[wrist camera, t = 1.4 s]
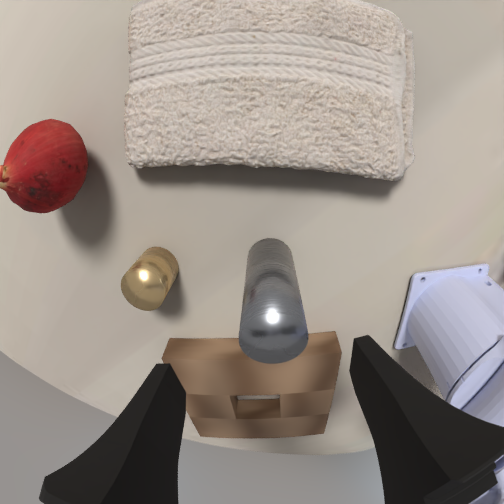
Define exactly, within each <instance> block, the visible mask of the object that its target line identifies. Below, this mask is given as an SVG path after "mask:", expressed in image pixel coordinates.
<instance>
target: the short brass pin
mask: <svg viewBox="0 0 504 504" xmlns="http://www.w3.org/2000/svg"><path fill="white" fill-rule="evenodd" d="M178 271H179V267H178V262H177V260H176V258H175V257H174V255H173V254H172V253H171V252H169V251H168V250H166V249H164V248H161V247H152V248H149V249H147V250H146V251H145V252H144V253H143V254H142V255H141V256H140V257H139V259H138V260H137V261H136V262H135V263H134V264H133V265H132V267H131V268H130V269H129V270H128V271H127V272H126V274H125V275H124V276H123V278H122V280H121V290H122V293H123V295H124V297H125V298H126V299H127V301H128V302H129V303H130V304H132V305H133V306H134V307H136V308H138V309H141V310H145V311H151V310H155V309H157V308H159V307H160V306H161V304H162V302H163V301H164V299H165V297H166V295H167V293H168V291H169V289H170V288H171V286H172V284H173V282H174V280H175V278H176V277H177V275H178Z"/></svg>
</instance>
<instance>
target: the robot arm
mask: <svg viewBox="0 0 504 504" xmlns="http://www.w3.org/2000/svg"><path fill="white" fill-rule="evenodd" d="M488 271H489V265H488V264H486V263H485V264H478V265H472V266H465V267H458V268H451V269H443V270H436V271H428V272H420V273H415V274H414V275H413V276H412V278H411V282H410V287H409V291H408V296H407V300H406V304H405V308H404V312H403V316H402V320H401V323H400V327H399V330H398V334H397V337H396V341H395V344H394V346H395V348H396V349H403V348H408V347H413V346H416V347H417V348H418V350H419V352H420V354H421V356H422V357H423V359H424V361H425V363H426V365H427V367H428V368H429V370H430V372H431V374H432V376H433V378H434V380H435V382H436V384H437V386H438V388H439V390H440V392H441V394H442V396H443V398H444V400H445V401H444V400H443V399H441V398H440V397H438V396H437V395H435V394H434V393H432V392H431V391H430V390H428V389H427V388H426V387H424V386H423V385H422V384H421V383H419V382H418V381H417V380H416V379H414V378H413V377H412V376H411V375H410V374H409V373H407V372H406V371H405V370H404V369H403V368H402V367H401V366H400V365H399V364H398V363H397V362H395V361H394V360H393V359H392V358H391V357H390V356H389V355H388V354H387V353H386V352H385V351H384V350H383V349H382V348H381V347H380V346H379V345H378V344H377V343H376V342H375V341H374V340H373V339H372V338H371V337H370V336H369V335H366V336H362V337H358V338H354V342H353V350H352V357H351V364H350V370H349V371H350V375H351V379H352V383H353V386H354V390H355V393H356V396H357V398H358V401H359V403H360V406H361V409H362V411H363V414H364V416H365V419H366V421H367V424H368V426H369V429H370V432H371V434H372V437H373V440H374V444H375V448H376V452H377V456H378V461H379V466H380V471H381V477H382V483H383V490H384V499H385V504H504V290H503V289H502V288H501V287H500V286H499V285H498V284H497V283H496V282H495V281H493V280H492V279H491V278H490V277H489V276H488ZM422 277H423V279H422V280H421V278H422ZM185 414H186V391H185V389H184V388H183V386H182V384H181V382H180V381H179V379H178V377H177V375H176V373H175V371H174V370H173V368H172V366H171V364H170V363H165V364H156V365H155V367H154V368H153V369H152V371H151V372H150V374H149V375H148V377H147V378H146V380H145V381H144V382H143V384H142V385H141V387H140V388H139V390H138V391H137V393H136V394H135V395H134V397H133V398H132V400H131V401H130V402H129V404H128V405H127V406H126V408H125V409H124V410H123V412H122V413H121V414H120V415H119V417H118V418H117V419H116V420H115V422H114V423H113V424H112V425H111V426H110V427H109V429H108V430H107V431H106V432H105V433H104V434H103V435H102V436H101V437H100V438H99V439H98V440H97V441H96V442H95V443H94V444H92V445H91V446H90V447H89V448H88V449H87V450H86V451H84V453H82V454H81V455H80V456H78V457H77V458H76V459H74V460H73V461H71V462H70V463H68V464H67V465H65V466H64V467H62V468H61V469H59V470H57V471H55V472H53V473H51V474H50V475H48V476H46V477H45V479H44V482H43V485H42V489H41V493H40V496H39V499H40V501H41V502H43V503H44V504H178V481H177V480H178V459H179V452H180V445H181V439H182V433H183V427H184V421H185Z"/></svg>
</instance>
